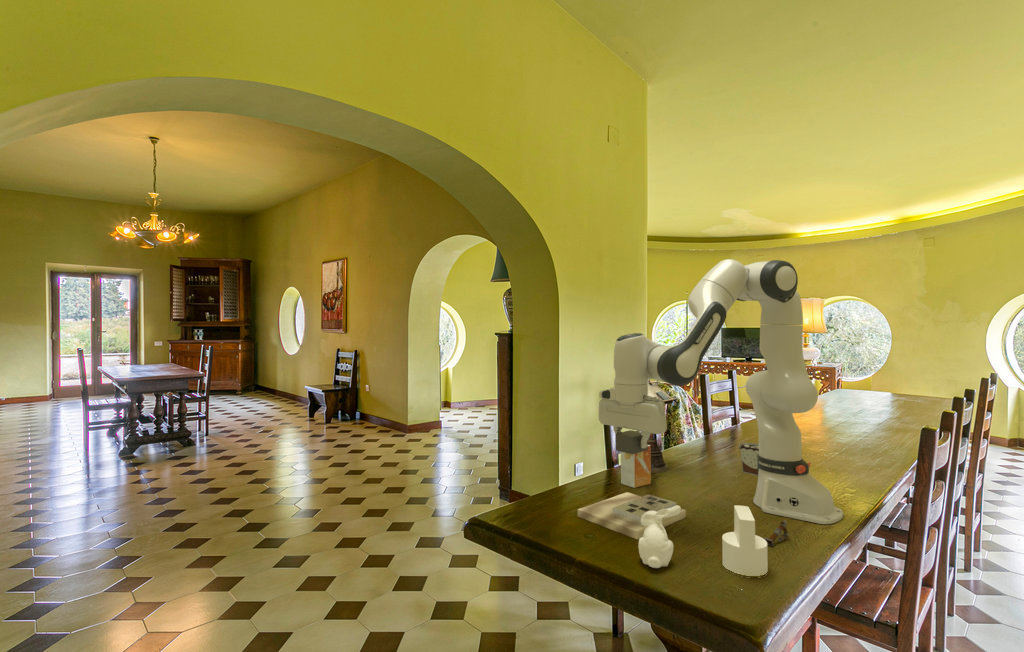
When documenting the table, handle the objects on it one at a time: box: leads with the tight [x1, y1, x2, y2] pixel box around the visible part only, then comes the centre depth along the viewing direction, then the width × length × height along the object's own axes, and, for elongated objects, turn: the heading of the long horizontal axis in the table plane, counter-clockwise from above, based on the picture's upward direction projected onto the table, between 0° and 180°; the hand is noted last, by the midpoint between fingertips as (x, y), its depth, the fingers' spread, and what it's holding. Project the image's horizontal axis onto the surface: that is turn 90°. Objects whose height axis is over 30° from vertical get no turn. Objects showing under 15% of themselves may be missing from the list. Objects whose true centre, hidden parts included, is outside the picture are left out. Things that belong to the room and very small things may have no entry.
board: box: [577, 491, 687, 540], centre depth 139 cm, size 20×22×2 cm
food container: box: [738, 442, 759, 477], centre depth 178 cm, size 12×6×10 cm, turn 34°
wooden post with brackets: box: [764, 520, 790, 548], centre depth 123 cm, size 2×8×5 cm, turn 122°
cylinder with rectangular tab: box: [721, 505, 769, 576], centre depth 110 cm, size 9×9×12 cm
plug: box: [614, 429, 648, 460], centre depth 136 cm, size 6×9×6 cm, turn 129°
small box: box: [620, 445, 652, 489], centre depth 168 cm, size 8×6×13 cm
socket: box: [613, 494, 677, 527], centre depth 136 cm, size 9×16×2 cm, turn 130°
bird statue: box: [647, 378, 678, 474], centre depth 185 cm, size 17×13×35 cm
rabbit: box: [637, 504, 682, 569], centre depth 113 cm, size 12×9×12 cm
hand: (631, 445), depth 135 cm, fingers closed on plug, 6 cm apart
